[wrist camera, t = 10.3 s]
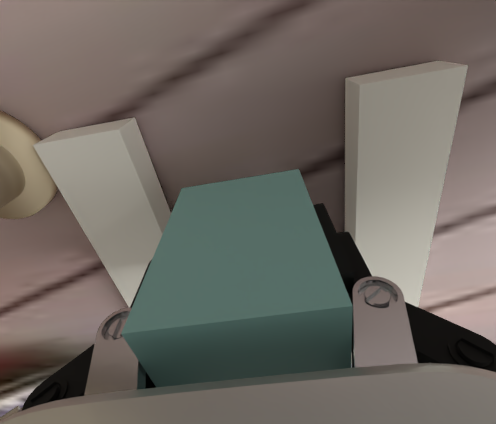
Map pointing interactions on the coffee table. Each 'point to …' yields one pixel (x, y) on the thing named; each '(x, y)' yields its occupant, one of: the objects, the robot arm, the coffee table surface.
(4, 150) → the bobbin
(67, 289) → the coffee table surface
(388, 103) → the notched board
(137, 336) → the block
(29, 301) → the coffee table surface
